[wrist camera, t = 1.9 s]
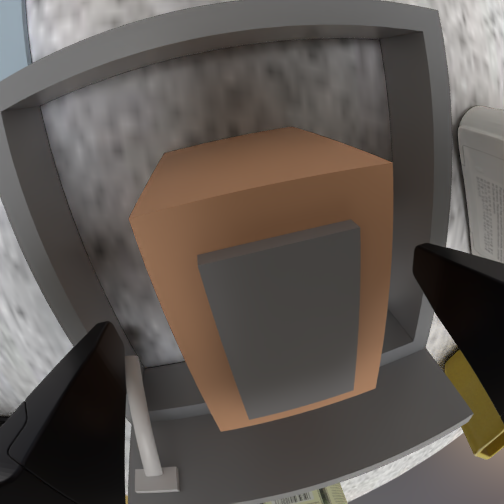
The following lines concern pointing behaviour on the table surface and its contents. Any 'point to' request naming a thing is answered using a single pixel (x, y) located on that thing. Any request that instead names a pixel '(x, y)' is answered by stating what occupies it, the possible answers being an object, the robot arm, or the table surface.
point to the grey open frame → (178, 375)
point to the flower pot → (476, 409)
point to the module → (271, 268)
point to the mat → (13, 37)
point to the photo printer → (484, 179)
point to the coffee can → (316, 497)
